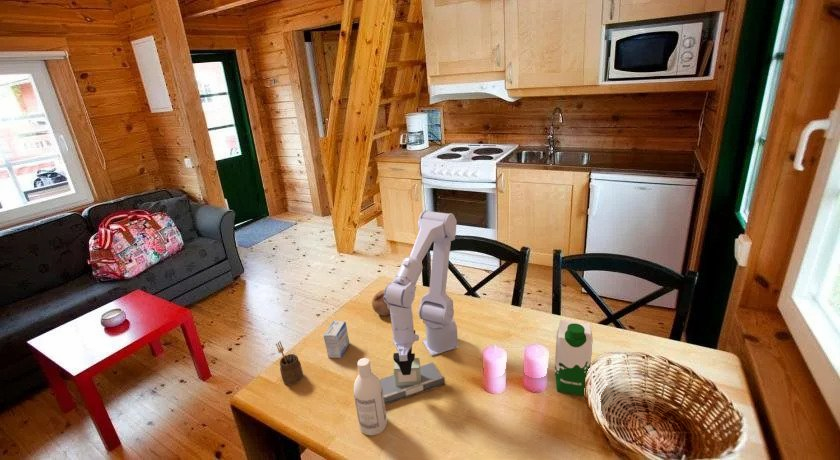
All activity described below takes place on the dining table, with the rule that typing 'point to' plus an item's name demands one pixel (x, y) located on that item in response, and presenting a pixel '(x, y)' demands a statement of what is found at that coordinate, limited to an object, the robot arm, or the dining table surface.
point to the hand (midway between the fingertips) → (407, 364)
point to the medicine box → (336, 339)
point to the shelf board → (428, 381)
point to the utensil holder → (290, 367)
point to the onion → (380, 304)
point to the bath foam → (369, 400)
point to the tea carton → (408, 379)
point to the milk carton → (572, 356)
